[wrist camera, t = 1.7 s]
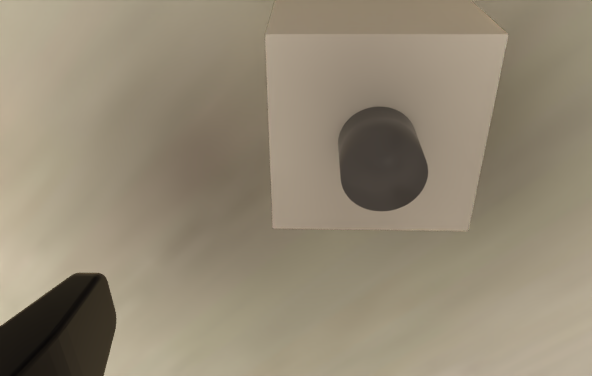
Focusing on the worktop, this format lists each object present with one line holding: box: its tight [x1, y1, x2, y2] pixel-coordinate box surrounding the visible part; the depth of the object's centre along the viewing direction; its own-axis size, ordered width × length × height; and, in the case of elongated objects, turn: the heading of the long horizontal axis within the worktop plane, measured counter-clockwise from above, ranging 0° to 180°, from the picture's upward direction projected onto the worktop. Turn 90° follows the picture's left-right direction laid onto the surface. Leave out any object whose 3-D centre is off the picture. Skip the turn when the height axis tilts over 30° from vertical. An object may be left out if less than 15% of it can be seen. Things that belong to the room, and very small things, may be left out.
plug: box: [265, 0, 509, 231], centre depth 14 cm, size 5×5×8 cm
